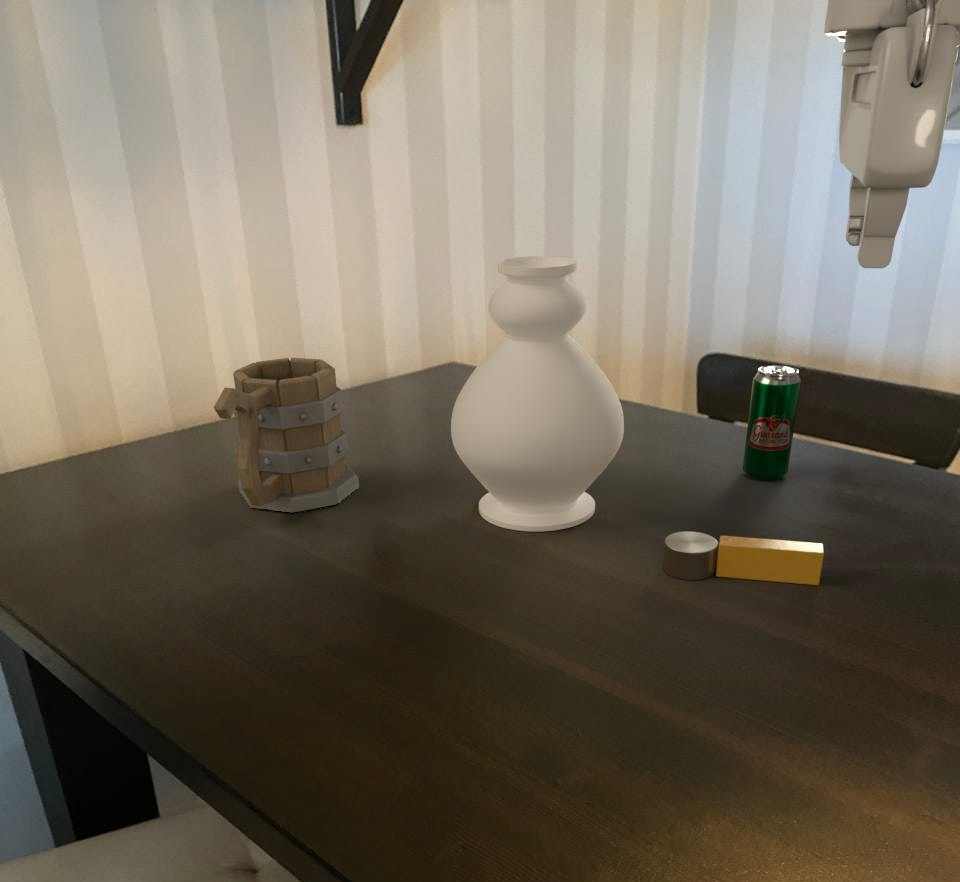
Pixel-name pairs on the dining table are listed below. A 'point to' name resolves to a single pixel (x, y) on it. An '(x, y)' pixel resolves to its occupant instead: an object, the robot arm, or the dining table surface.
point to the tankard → (289, 434)
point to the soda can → (771, 422)
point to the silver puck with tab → (742, 558)
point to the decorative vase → (537, 405)
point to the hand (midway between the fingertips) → (865, 255)
